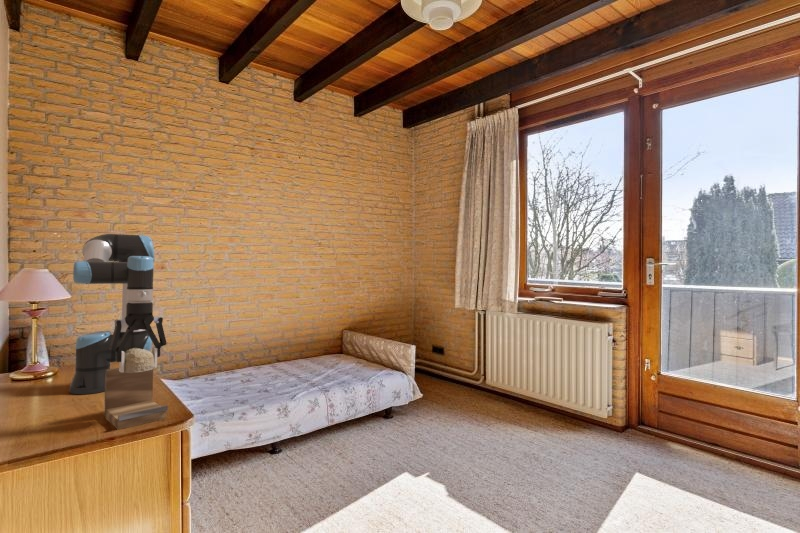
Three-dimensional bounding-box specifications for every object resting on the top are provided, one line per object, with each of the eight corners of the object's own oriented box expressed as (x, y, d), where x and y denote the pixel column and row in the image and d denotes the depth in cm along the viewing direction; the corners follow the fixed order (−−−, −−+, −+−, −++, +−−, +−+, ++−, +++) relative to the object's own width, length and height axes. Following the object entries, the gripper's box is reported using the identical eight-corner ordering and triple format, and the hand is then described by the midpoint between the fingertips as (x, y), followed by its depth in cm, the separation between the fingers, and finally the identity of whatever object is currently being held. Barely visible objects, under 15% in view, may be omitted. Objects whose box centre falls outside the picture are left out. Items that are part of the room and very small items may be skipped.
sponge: (141, 378, 144) (124, 354, 144) (165, 362, 145) (148, 338, 145) (125, 385, 135) (107, 359, 135) (151, 368, 136) (133, 342, 136)
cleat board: (104, 417, 141) (105, 369, 142) (150, 407, 152) (151, 363, 152) (118, 430, 130) (119, 379, 130) (167, 419, 140) (168, 371, 141)
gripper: (104, 304, 130) (102, 376, 129) (178, 301, 146) (177, 365, 145) (98, 302, 135) (96, 372, 134) (170, 300, 151) (169, 362, 150)
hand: (138, 369), depth 140 cm, fingers closed on sponge, 9 cm apart
